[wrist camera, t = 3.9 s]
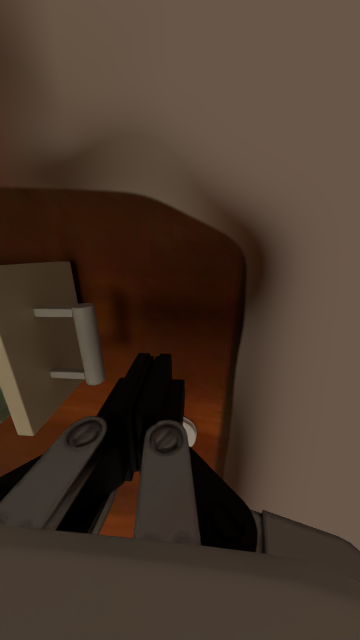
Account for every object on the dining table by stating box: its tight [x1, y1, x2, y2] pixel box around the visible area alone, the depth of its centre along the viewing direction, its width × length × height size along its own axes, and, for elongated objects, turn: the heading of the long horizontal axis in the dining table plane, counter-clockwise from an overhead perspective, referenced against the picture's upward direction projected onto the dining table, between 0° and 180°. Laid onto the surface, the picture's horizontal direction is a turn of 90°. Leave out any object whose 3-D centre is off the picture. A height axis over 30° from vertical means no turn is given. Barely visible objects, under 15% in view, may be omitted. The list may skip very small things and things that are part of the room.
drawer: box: [0, 261, 106, 436], centre depth 16 cm, size 18×11×8 cm, turn 91°
